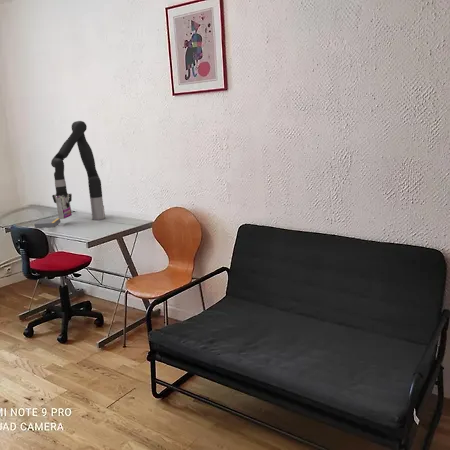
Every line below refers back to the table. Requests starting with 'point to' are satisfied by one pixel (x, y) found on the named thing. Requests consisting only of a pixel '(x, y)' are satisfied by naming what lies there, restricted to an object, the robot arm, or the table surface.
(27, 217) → the table surface
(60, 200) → the candy bar box
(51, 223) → the loading dock
